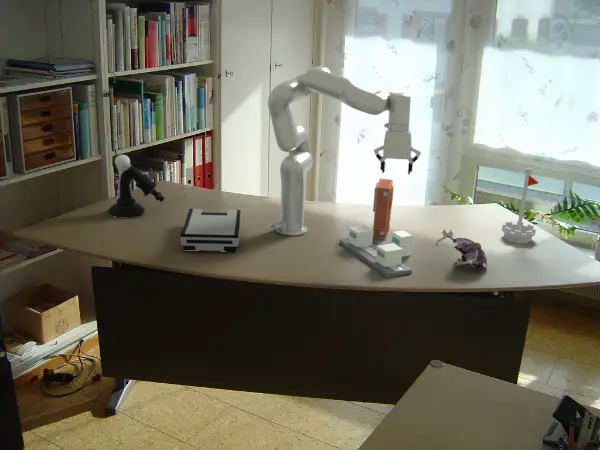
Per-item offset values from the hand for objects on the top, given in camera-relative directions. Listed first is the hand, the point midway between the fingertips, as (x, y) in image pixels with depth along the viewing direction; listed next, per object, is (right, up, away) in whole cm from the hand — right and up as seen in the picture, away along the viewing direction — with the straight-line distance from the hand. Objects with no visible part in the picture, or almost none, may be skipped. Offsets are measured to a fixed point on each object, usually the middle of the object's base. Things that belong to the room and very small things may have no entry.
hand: (396, 172), depth 259 cm
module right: (-4, -33, -10) cm, 35 cm away
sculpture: (-105, -14, +35) cm, 112 cm away
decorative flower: (+25, -35, -6) cm, 44 cm away
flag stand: (+53, -25, +25) cm, 64 cm away
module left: (-13, -27, +7) cm, 30 cm away
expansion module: (+2, -30, +4) cm, 31 cm away
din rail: (-9, -30, -2) cm, 31 cm away
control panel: (-3, -23, +23) cm, 33 cm away
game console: (-70, -25, +10) cm, 75 cm away
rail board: (-9, -32, -1) cm, 33 cm away
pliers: (+23, -26, +21) cm, 40 cm away
